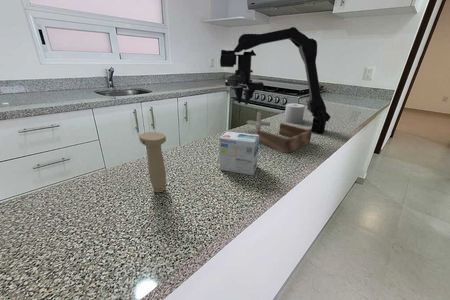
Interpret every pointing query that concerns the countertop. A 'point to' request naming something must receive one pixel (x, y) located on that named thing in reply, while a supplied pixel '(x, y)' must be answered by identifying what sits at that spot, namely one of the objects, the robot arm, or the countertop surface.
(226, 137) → the light bulb box
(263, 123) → the pipe connector
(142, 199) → the countertop surface
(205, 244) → the countertop surface
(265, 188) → the countertop surface
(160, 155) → the handle
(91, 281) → the countertop surface
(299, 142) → the walnut bay
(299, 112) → the toilet tissue
